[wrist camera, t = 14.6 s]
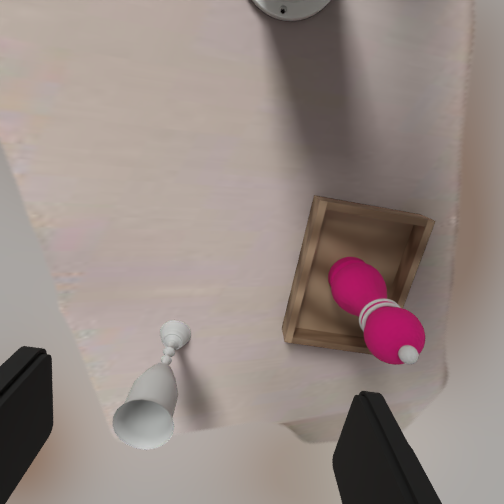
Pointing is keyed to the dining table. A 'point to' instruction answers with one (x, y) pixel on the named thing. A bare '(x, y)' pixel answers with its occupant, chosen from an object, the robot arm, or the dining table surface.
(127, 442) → the chalice
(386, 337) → the pepper mill
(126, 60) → the dining table surface
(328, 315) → the serving tray
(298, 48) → the dining table surface
